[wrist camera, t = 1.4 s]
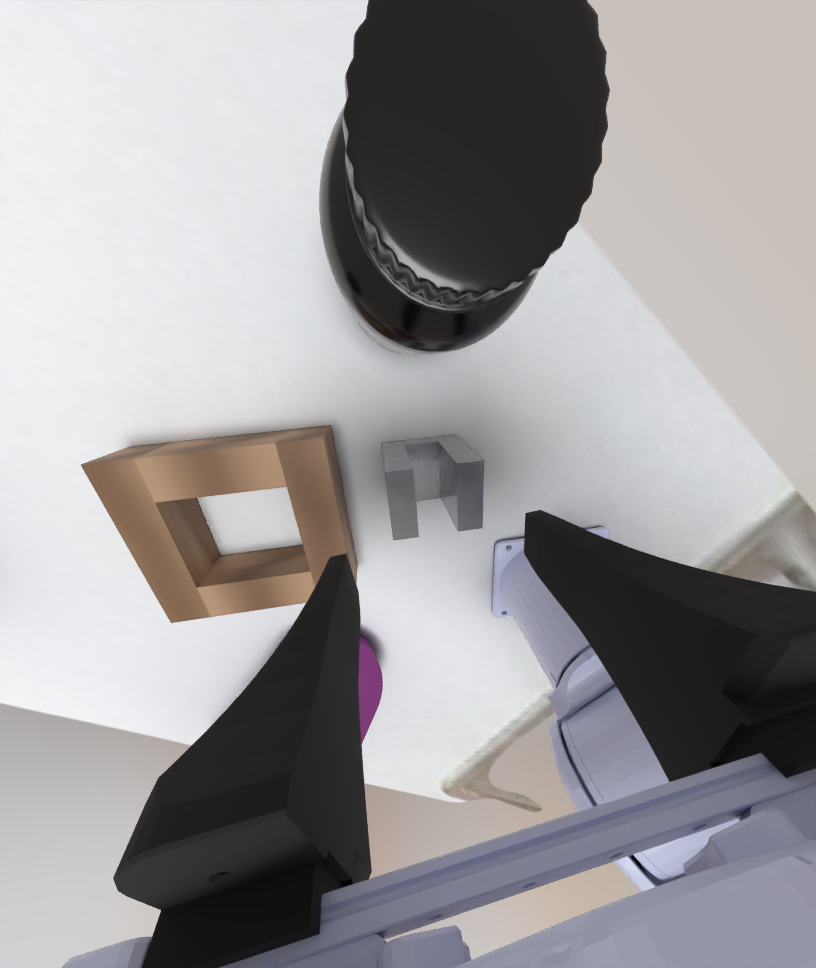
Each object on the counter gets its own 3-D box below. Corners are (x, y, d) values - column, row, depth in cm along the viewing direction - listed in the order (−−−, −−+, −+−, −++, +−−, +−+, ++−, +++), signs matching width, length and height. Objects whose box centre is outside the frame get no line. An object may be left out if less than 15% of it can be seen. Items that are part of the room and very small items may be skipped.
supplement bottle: (420, 170, 14) (591, -464, 3) (491, 302, 17) (718, 197, 6) (316, 271, 15) (178, 50, 4) (397, 380, 18) (440, 416, 7)
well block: (330, 425, 18) (323, 437, 15) (357, 564, 23) (355, 595, 20) (128, 446, 18) (80, 464, 15) (197, 587, 22) (171, 622, 19)
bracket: (455, 434, 20) (484, 460, 15) (456, 488, 21) (482, 528, 16) (381, 442, 19) (384, 472, 14) (387, 496, 21) (393, 540, 16)
